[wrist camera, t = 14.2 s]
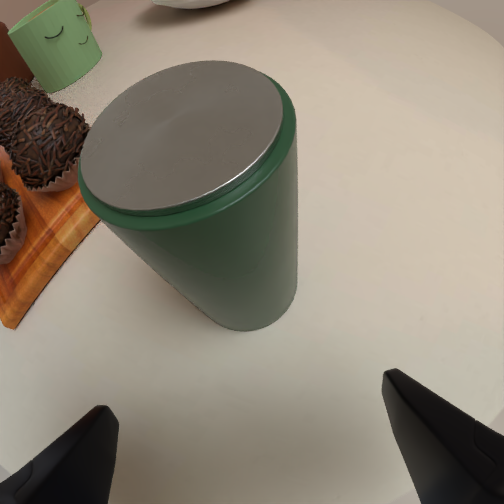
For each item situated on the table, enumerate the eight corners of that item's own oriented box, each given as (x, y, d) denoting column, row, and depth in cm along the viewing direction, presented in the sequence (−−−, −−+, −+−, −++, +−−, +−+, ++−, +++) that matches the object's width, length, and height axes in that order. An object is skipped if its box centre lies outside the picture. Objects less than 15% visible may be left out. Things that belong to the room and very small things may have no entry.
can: (316, 299, 18) (349, 141, 6) (221, 349, 17) (87, 273, 6) (266, 218, 20) (232, 37, 9) (181, 262, 20) (66, 117, 8)
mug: (73, 89, 31) (32, 21, 21) (33, 95, 34) (-3, 41, 23) (125, 37, 36) (99, -25, 25) (81, 46, 38) (55, -6, 27)
